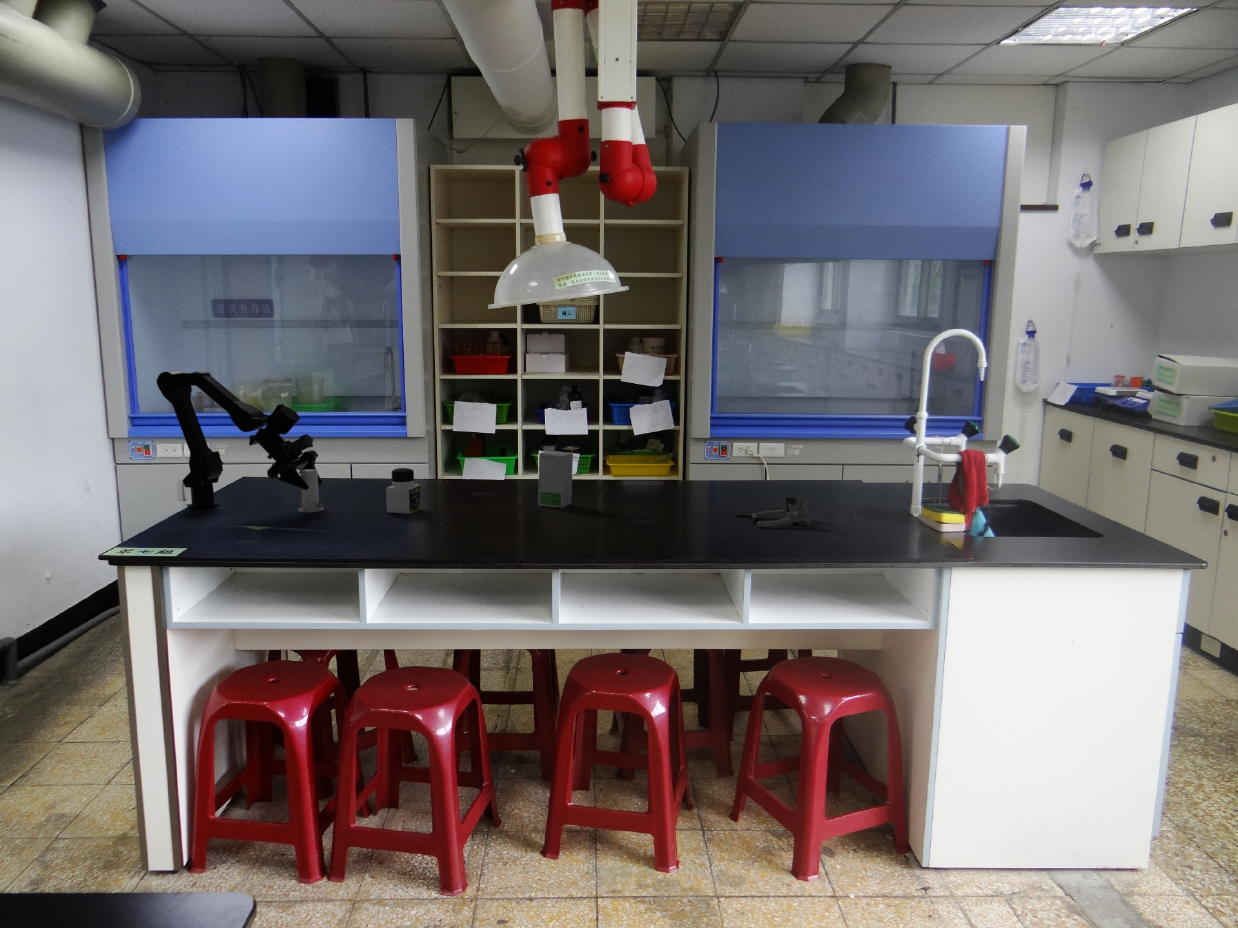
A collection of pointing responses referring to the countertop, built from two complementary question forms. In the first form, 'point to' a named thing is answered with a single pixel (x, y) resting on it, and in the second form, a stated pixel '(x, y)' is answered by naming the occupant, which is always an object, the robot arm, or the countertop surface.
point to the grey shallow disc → (310, 511)
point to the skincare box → (555, 478)
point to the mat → (256, 527)
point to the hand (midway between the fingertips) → (314, 486)
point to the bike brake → (786, 513)
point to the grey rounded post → (310, 491)
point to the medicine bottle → (403, 492)
